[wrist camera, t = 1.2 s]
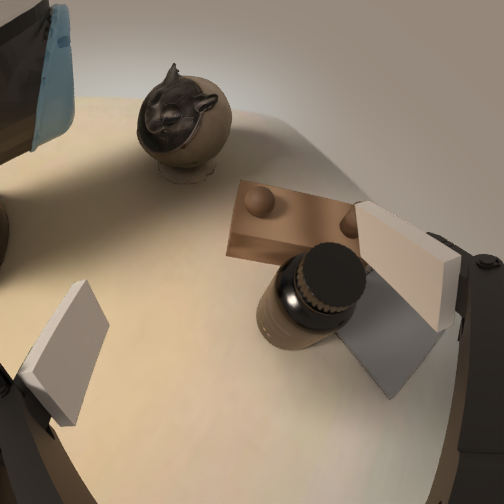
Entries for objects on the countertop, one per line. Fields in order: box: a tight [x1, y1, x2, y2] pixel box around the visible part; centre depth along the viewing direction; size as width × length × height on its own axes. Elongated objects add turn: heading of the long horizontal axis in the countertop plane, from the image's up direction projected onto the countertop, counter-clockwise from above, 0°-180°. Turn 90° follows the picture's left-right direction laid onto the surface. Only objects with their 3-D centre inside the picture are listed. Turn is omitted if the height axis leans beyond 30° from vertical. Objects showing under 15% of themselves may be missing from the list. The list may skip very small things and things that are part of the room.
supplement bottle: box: [256, 242, 367, 351], centre depth 26 cm, size 7×7×12 cm
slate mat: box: [336, 269, 445, 399], centre depth 33 cm, size 12×12×1 cm
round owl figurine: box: [137, 63, 232, 184], centre depth 32 cm, size 10×12×10 cm
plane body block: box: [226, 180, 368, 267], centre depth 32 cm, size 14×6×8 cm, turn 83°
